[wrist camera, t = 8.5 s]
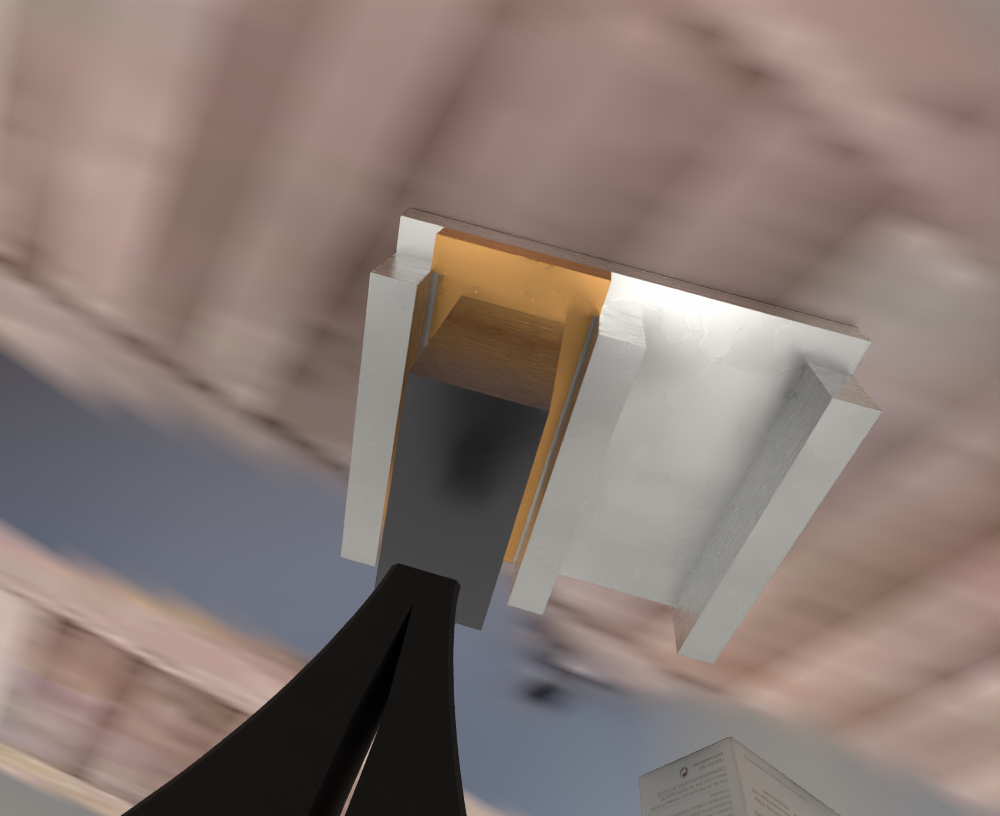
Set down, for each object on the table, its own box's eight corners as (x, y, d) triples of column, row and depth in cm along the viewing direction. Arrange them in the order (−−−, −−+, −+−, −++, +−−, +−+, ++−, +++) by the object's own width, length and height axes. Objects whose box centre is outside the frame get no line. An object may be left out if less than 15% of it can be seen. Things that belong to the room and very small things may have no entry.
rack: (857, 327, 16) (906, 375, 13) (700, 594, 21) (712, 664, 19) (411, 208, 16) (374, 232, 14) (372, 501, 22) (340, 556, 19)
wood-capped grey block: (565, 323, 16) (549, 411, 12) (509, 510, 20) (481, 630, 15) (461, 294, 16) (408, 372, 12) (424, 486, 20) (373, 598, 15)
